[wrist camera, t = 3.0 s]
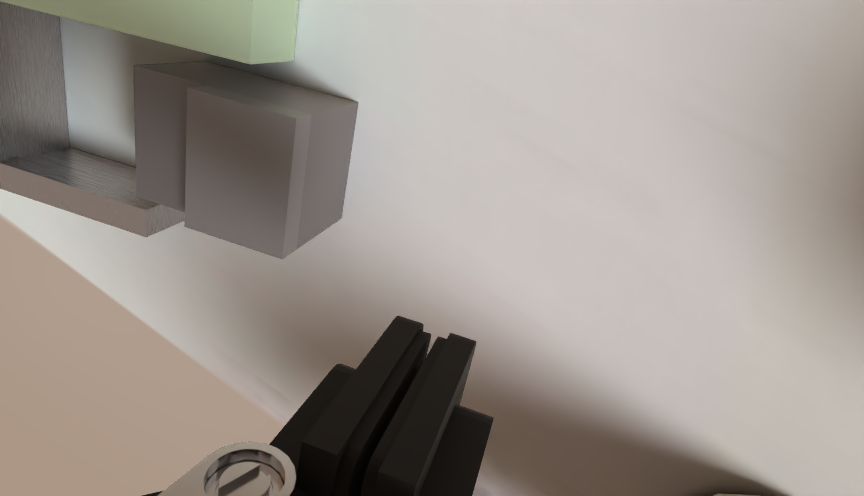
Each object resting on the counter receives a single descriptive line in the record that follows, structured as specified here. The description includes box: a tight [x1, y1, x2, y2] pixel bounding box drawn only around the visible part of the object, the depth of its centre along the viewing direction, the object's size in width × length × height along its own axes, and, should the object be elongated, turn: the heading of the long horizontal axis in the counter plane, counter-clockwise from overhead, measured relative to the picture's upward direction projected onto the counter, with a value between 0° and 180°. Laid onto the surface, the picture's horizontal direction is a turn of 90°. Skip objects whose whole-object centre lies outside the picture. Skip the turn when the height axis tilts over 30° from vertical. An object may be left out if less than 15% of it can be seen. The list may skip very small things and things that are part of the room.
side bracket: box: [0, 1, 185, 237], centre depth 23 cm, size 8×8×4 cm
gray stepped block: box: [134, 61, 358, 259], centre depth 21 cm, size 5×7×5 cm
